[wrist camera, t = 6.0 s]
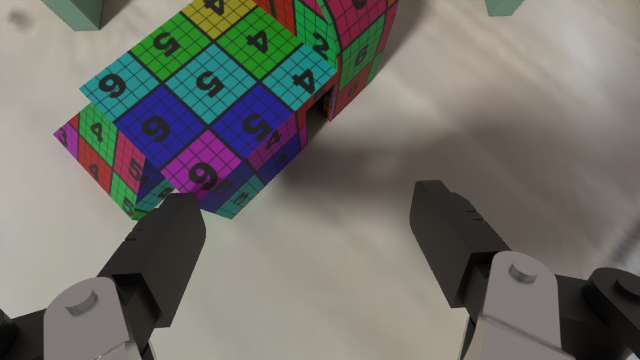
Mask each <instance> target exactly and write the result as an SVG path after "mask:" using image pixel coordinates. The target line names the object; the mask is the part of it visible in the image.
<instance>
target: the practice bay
mask: <svg viewBox="0 0 640 360" xmlns="http://www.w3.org/2000/svg"><path fill="white" fill-rule="evenodd" d="M41 1H42V2H43V3H44V4H45V5H47V6H48V7H49V8H50V9H51V10H52V11H53V12H54V13H55V14H56V15H58V16H59V17H60V18H61V19H62V20H63V21H64V22H65V23H66V24H67V25H69V26H70V27H71V28H72V29H73V30H74V31H84V30H99V28H100V21H101V14H102V7H103V0H41ZM485 1H486V5H487V9H488V13H489V16H508V15H512V14H513V13H514V12H515V11H516V9H517V8H518V7H519V6H520V5H521V4H522V2H523V1H524V0H485Z"/></svg>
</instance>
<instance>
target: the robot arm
mask: <svg viewBox="0 0 640 360" xmlns="http://www.w3.org/2000/svg"><path fill="white" fill-rule="evenodd" d="M410 226H411V229H412V232H413V234H414V236H415V238H416V240H417V242H418V244H419V246H420V248H421V250H422V252H423V254H424V255H425V257H426V259H427V261H428V263H429V265H430V267H431V269H432V271H433V273H434V275H435V277H436V279H437V281H438V283H439V285H440V287H441V289H442V291H443V293H444V295H445V297H446V299H447V301H448V303H449V305H450V307H451V308H461V307H465V308H466V309H467V311H468V313H469V316H468V319H467V321H466V326H465V330H464V334H463V338H462V343H461V347H460V351H459V355H458V360H626V359H627V358H628V357H629V356H630V355H631V354H632V353H634V354H635V355H636V356H637V357H638V358H639V359H640V277H638V276H636V275H634V274H632V273H629V272H626V271H623V270H619V269H615V268H599V269H596V270H595V271H594V272H593V273H592V275H591V276H590V277H589V279H588V280H582V279H577V278H571V277H566V276H561V275H555V274H553V272H552V271H551V270H550V269H549V268H548V267H547V266H546V265H545V264H543V263H542V262H540V261H539V260H537V259H535V258H533V257H531V256H529V255H526V254H524V253H520V252H516V251H512V250H511V249H510V248H509V247H508V246H507V245H506V244H505V242H504V241H503V240H502V239H501V238H500V237H499V236H498V234H497V233H496V232H495V231H494V230H493V229H492V228H491V226H490V225H489V224H488V223H487V222H486V221H484V218H483V217H482V216H481V215H480V214H479V213H478V212H476V209H475V208H474V207H473V206H472V205H471V204H470V202H469V201H468V200H466V199H465V198H463V197H461V196H460V195H458V194H457V193H455V192H452V193H451V192H450V191H449V190H448V189H447V188H446V186H445V185H444V184H443V183H442V182H441V181H440V180H423V181H417V182H416V184H415V189H414V194H413V199H412V205H411V210H410ZM205 238H206V227H205V223H204V220H203V217H202V214H201V211H200V207H199V204H198V201H197V198H196V196H195V194H194V193H193V192H186V193H170V194H168V195H167V197H166V198H165V200H164V201H163V202H162V204H161V205H160V207H159V208H154V209H153V210H151V211H150V212H149V213H147V214H146V215H145V216H143V217H142V218H141V219H140V220H139V221H138V223H137V224H136V225H135V227H134V228H133V229H132V232H130V233H129V234H128V236H127V237H126V238H125V241H123V242H122V244H121V245H120V246H119V248H118V249H117V250H116V252H115V253H114V254H113V255H112V257H111V258H110V259H109V261H108V262H107V263H106V265H105V266H104V267H103V269H102V270H101V271H100V273H99V274H98V275H97V276H96V277H95V278H90V279H87V280H84V281H81V282H79V283H77V284H75V285H73V286H71V287H69V288H68V289H66V290H65V291H63V292H62V293H61V294H60V295H58V296H57V297H56V298H55V299H54V300H53V301H52V302H51V304H50V305H49V306H48V308H46V309H43V310H40V311H36V312H33V313H30V314H27V315H23V316H20V317H17V318H13V319H10V318H9V317H8V316H7V315H6V314H5V313H4V312H3V311H2V310H1V309H0V360H157V357H156V354H155V352H154V349H153V346H152V343H151V341H150V339H149V338H150V336H151V334H152V332H153V330H154V328H164V327H170V326H171V323H172V321H173V318H174V316H175V313H176V311H177V309H178V306H179V304H180V301H181V299H182V296H183V294H184V291H185V289H186V287H187V284H188V282H189V279H190V277H191V274H192V272H193V270H194V267H195V265H196V262H197V260H198V257H199V255H200V252H201V250H202V248H203V245H204V242H205Z"/></svg>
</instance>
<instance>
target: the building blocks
mask: <svg viewBox="0 0 640 360" xmlns="http://www.w3.org/2000/svg"><path fill="white" fill-rule="evenodd" d="M397 4H398V0H194V1H193V2H192V3H191V4H189V5H188V6H187V7H185V8H184V9H183V10H181V11H180V12H179V13H177V14H176V15H175V16H173V17H172V18H171V19H170V20H168V21H167V22H166V23H164V24H163V25H162V26H160V27H159V28H158V29H156V30H155V31H154V32H153V33H151V34H150V35H149V36H147V37H146V38H145V39H143V40H142V41H141V42H139V43H138V44H137V45H135V46H134V47H133V48H132V49H130V50H129V51H128V52H126V53H125V54H124V55H122V56H121V57H120V58H118V59H117V60H116V61H115V62H113V63H112V64H111V65H109V66H108V67H107V68H105V69H104V70H103V71H101V72H100V73H99V74H97V75H96V76H95V77H94V78H92V79H91V80H90V81H88V82H87V83H86V84H84V85H83V86H82V87H80V88H79V89H80V90H81V92H82V93H83V94H84V95H85V96H86V97H87V98H88V99H89V100H90V101H91V103H90V104H89V105H88V106H86V107H85V108H84V109H83V110H81V111H80V112H79V113H78V114H77V115H75V116H74V117H73V118H72V119H71V120H69V121H68V122H67V123H66V124H65V125H63V126H62V127H61V128H60V129H59V130H57V131H56V132H55V133H54V134H53V135H54V136H55V137H56V138H57V139H58V140H59V141H60V142H61V143H62V145H63V146H64V147H65V148H66V149H67V150H68V151H69V152H70V153H71V154H72V155H73V156H74V158H75V159H76V160H77V161H78V162H79V163H80V164H81V165H82V166H83V167H84V168H85V170H86V171H87V172H88V173H89V174H90V175H91V176H92V177H93V178H94V179H95V180H96V181H97V183H98V184H99V185H100V186H101V187H102V188H103V189H104V190H105V191H106V192H107V193H108V194H109V196H110V197H111V198H112V199H113V200H114V201H115V202H116V203H117V204H118V205H119V206H120V207H121V209H122V210H123V211H124V212H125V213H126V214H127V215H128V216H129V217H130V218H131V219H132V220H137V221H139V220H140V219H141V218H142V217H143V216H145V215H146V214H147V213H149V212H150V211H151V210H152V209H153V208H154V207H155V206H156V205H157V204H159V203H160V202H161V201H162V200H163V199H164V198H165V197H166V196H167V195H168V194H170V193H171V192H172V191H173V190H174V189H175V188H176V189H177V190H178V191H179V192H180V193H186V192H193V193H194V194H195V196H196V198H197V201H198V204H199V207H200V209H203V210H205V211H208V212H211V213H214V214H217V215H220V216H223V217H226V218H229V219H232V218H233V217H234V216H235V215H236V214H237V213H238V212H239V211H240V210H241V209H242V208H243V207H244V206H246V205H247V204H248V203H249V202H250V201H251V200H252V199H253V198H254V197H255V196H256V195H257V194H258V193H259V192H260V191H261V190H262V189H263V188H264V187H265V186H266V185H267V184H268V183H269V182H270V181H271V180H272V179H273V178H274V177H275V176H276V175H277V174H278V173H279V172H280V171H281V170H282V169H283V168H284V167H285V166H286V165H287V164H288V163H289V162H290V161H291V160H292V159H293V158H294V157H295V156H296V155H297V154H298V153H299V152H300V151H301V150H302V149H303V148H304V147H305V146H306V145H307V125H306V111H307V110H308V109H309V108H310V107H311V106H312V105H313V104H314V103H315V102H316V101H317V100H318V99H319V98H320V97H321V96H322V95H323V94H324V104H323V116H324V117H325V118H326V119H328V120H329V121H330V122H331V121H332V120H333V119H334V118H335V117H336V116H337V115H338V114H339V113H340V112H341V111H342V110H343V109H344V108H345V107H346V106H347V105H348V104H349V103H350V102H351V101H352V100H353V99H354V98H355V97H356V96H357V95H358V94H359V93H360V92H361V91H362V90H363V89H364V88H365V87H366V86H367V85H368V84H369V83H370V82H371V81H372V80H373V77H374V75H375V72H376V69H377V66H378V63H379V61H380V58H381V55H382V52H383V49H384V47H385V44H386V41H387V38H388V35H389V33H390V30H391V27H392V24H393V21H394V19H395V15H396V10H397Z"/></svg>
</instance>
